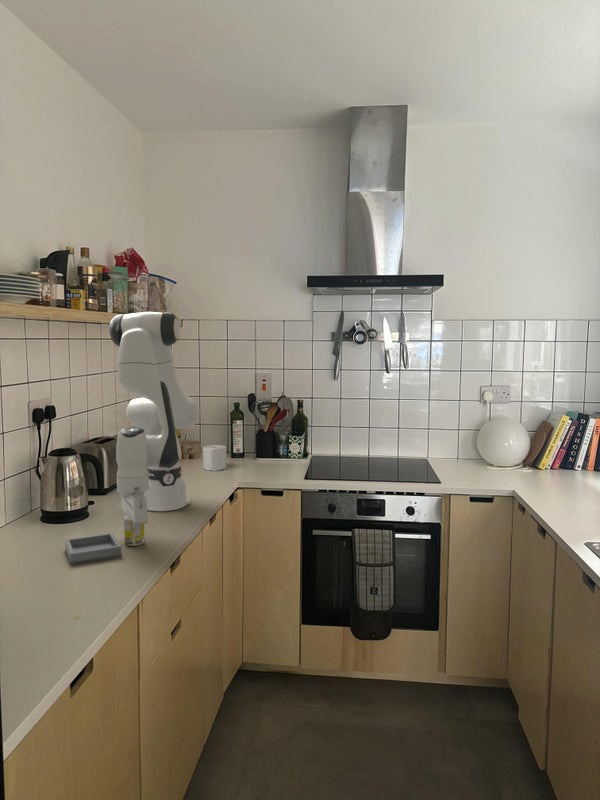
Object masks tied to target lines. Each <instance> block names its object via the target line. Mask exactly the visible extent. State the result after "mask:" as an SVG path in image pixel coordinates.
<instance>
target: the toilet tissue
mask: <svg viewBox="0 0 600 800" xmlns="http://www.w3.org/2000/svg"><path fill="white" fill-rule="evenodd" d="M225 468H226V469H227V446H226V445H222V444H220V445H219V444H211V445H204V446H202V469H203V470H204V469H205V470H204V471H210V470H212V471H211V472H216V471H223V470H226V469H225ZM222 469H223V470H222Z"/></svg>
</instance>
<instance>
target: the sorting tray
mask: <svg viewBox="0 0 600 800" xmlns="http://www.w3.org/2000/svg"><path fill="white" fill-rule="evenodd" d="M64 547H65V553H66V555H67V558H68V561H69V564H70V565H71V566H73V565H81V564H87V563H92V562H93V563H94V562H99V561H106V560H112V559H118V558H122V555H123V554H122V545H121V543H120V542H119V541H118V539H117V538H116V535H115V534H114V533H113V532H110V533H102V534H95V535H89V536H88V535H87V536H80V537H74V538H68V539H67V538H66V539H64Z"/></svg>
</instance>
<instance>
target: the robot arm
mask: <svg viewBox="0 0 600 800" xmlns="http://www.w3.org/2000/svg"><path fill="white" fill-rule="evenodd" d="M180 333H181V326H180V322H179V320H178V317H177V316H176V315H175V314H174V313H171V312H166V311H163V312H156V311H144V312H136V313H135V312H133V313H127V314H126V313H121V314H117V315H115V316H113V318H112V319H111V320H110V323H109V336H110V339H111V341H112V342H113V343H114V344H115V346H117V347H119V348H118V349H119V350H118V358H117V360H118V361H117V363H118V364H117V369H118V370H117V374H118V381H119V383H120V385H121V387H122V388H124V389H125V390H126V391H127V392H129V393H130V394H133V395H135V396H138V398H137V397H136V398H132V399H131V400H130V401H129V403H128V405H127V406H126V411H125V414H126V419H127V421H128V423H130V425H131V426H132V427H131V426H129V427H125V428H122V429H121V430H119V431H118V433H117V438H116V439H117V440H116V444H115V446H114V459H115V462H116V464H117V472H116V488H117V489H116V490H117V492H118V494H119V495H118V496H119V501H120V503H119V504H120V506H121V507H120V508H121V509H122V510H123V511H124V512H125V514H126V515H127V510H128V516H129V518H130V519H131V520H132V521H133V524H134V528H133V533H134V535H135V536H137V535H140V534H141V525H142V524H144V525H146V524H147V523H148V521H149V517H148V515H149V514H148V511H150V512H151V511H152V512H171V511H175V510H179V509H182V508H184V507H186V506H187V505H191V503H192V500H190V499H188V498H187V485H186V480H184V479H183V478H182V471H183V470H182V466H181V462H180V461H181V456H182V455H181V454H182V448H181V445H180V441H179V438H178V436H177V435H178V434H177V429H178V430H179V429H187V428H192V427H193V426H195V425H196V424H197V422H198V420H199V418H200V408H199V405H198V404H197V402H196V401H195V400H194V399H192V397H190V396H189V395H187V394H186V393H185V392H184V390H183V389H182V388H181V386H180V384H179V383H178V380H177V376H176V371H175V365H174V357H173V349H172V345H174V344H175V343H176V342H177V341H179V338H180Z"/></svg>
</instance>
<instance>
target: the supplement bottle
mask: <svg viewBox="0 0 600 800" xmlns="http://www.w3.org/2000/svg"><path fill="white" fill-rule="evenodd" d="M123 517H124V518H123V527H124V529H123V530H124V544H125V545H126V546H130V547H136V546H141V545H142V544H144V543H145V524H142V525H141V534H140V535H137V536H135V535H134V533H133V528H134V524H133V521H132V520H131V519H130V518H129V516H128V510H127V514H126V515H125V516H123Z"/></svg>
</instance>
